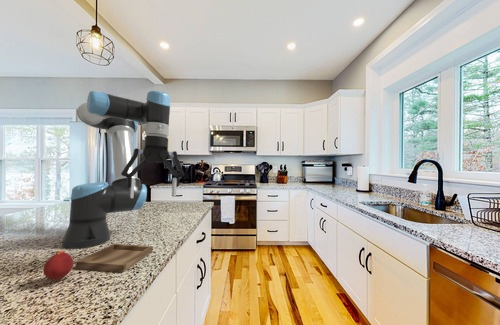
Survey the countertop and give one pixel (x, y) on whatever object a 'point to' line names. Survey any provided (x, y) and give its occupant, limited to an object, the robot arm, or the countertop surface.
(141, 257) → the tray
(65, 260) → the red fruit
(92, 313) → the countertop surface
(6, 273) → the countertop surface
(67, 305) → the countertop surface
